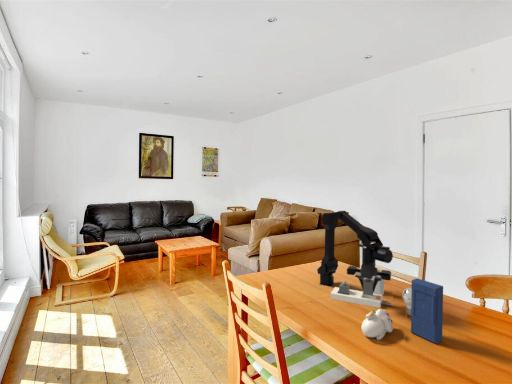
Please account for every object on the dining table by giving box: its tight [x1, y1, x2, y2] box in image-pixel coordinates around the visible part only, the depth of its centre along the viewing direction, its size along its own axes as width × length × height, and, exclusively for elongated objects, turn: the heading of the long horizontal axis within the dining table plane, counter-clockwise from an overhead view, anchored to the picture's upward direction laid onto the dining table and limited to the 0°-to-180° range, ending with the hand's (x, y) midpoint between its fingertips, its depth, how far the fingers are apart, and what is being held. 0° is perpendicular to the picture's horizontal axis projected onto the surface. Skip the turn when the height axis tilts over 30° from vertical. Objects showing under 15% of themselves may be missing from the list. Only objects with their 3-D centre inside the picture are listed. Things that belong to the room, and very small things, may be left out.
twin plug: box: [338, 280, 351, 295], centre depth 139 cm, size 4×4×8 cm
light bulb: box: [401, 287, 412, 317], centre depth 121 cm, size 7×7×12 cm
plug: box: [362, 278, 375, 296], centre depth 134 cm, size 4×4×8 cm
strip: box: [330, 286, 392, 309], centre depth 136 cm, size 26×9×4 cm, turn 61°
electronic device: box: [410, 278, 444, 345], centre depth 105 cm, size 10×5×20 cm, turn 31°
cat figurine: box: [361, 308, 393, 341], centre depth 108 cm, size 10×8×15 cm
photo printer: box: [364, 268, 385, 296], centre depth 146 cm, size 10×4×12 cm, turn 39°
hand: (368, 290), depth 134 cm, fingers closed on plug, 4 cm apart
